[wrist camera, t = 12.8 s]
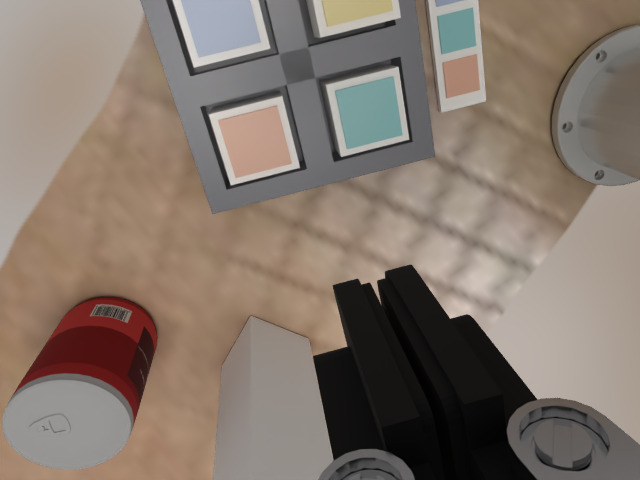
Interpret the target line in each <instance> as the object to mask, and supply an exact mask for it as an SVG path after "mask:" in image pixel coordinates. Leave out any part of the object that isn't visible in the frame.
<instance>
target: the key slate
mask: <svg viewBox="0 0 640 480" xmlns="http://www.w3.org/2000/svg"><path fill="white" fill-rule="evenodd" d="M173 3H174V6H175V9H176V12H177V16H178V19H179V22H180V25H181V28H182V32H183V35H184V38H185V41H186V44H187V47H188V51H189V54H190V57H191V60H192V63H193V67H194V68H195V67H199V66H203V65H207V64H211V63H215V62H219V61H223V60H227V59H231V58H235V57H239V56H243V55H247V54H251V53H255V52H259V51H263V50H267V49H270V45H269V41H268V37H267V33H266V29H265V25H264V21H263V17H262V12H261V8H260V4H259V0H173Z"/></svg>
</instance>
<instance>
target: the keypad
mask: <svg viewBox="0 0 640 480" xmlns="http://www.w3.org/2000/svg"><path fill="white" fill-rule="evenodd" d="M140 1H141V4H142V7H143V10H144V13H145V16H146V19H147V22H148V25H149V28H150V31H151V34H152V37H153V40H154V42H155V45H156V48H157V51H158V54H159V57H160V60H161V63H162V66H163V69H164V72H165V75H166V78H167V81H168V84H169V87H170V90H171V93H172V96H173V99H174V101H175V104H176V107H177V110H178V113H179V116H180V119H181V122H182V125H183V128H184V131H185V134H186V137H187V140H188V143H189V146H190V149H191V152H192V155H193V157H194V160H195V163H196V166H197V169H198V172H199V175H200V178H201V181H202V184H203V187H204V190H205V193H206V196H207V199H208V202H209V205H210V208H211V211H212V214H215V213H219V212H223V211H226V210H230V209H234V208H238V207H242V206H246V205H250V204H253V203H257V202H261V201H265V200H269V199H273V198H277V197H280V196H284V195H288V194H292V193H296V192H300V191H304V190H308V189H311V188H315V187H319V186H323V185H327V184H331V183H335V182H338V181H342V180H346V179H350V178H354V177H358V176H362V175H365V174H369V173H373V172H377V171H381V170H385V169H389V168H392V167H396V166H400V165H404V164H408V163H412V162H416V161H419V160H423V159H427V158H431V157H435V151H434V143H433V136H432V128H431V120H430V112H429V104H428V97H427V89H426V81H425V73H424V65H423V58H422V50H421V42H420V34H419V26H418V19H417V11H416V3H415V0H398V1H399V8H400V15H401V18H398V19H394V20H390V21H386V22H382V23H378V24H374V25H370V26H366V27H362V28H358V29H354V30H350V31H346V32H342V33H338V34H334V35H329V36H325V37H321V38H318V37H314V35H313V30H312V25H311V20H310V16H309V11H308V6H307V2H306V0H259V4H260V8H261V12H262V17H263V21H264V25H265V29H266V33H267V37H268V41H269V45H270V49H267V50H263V51H259V52H255V53H251V54H247V55H243V56H239V57H235V58H231V59H227V60H223V61H219V62H215V63H211V64H207V65H203V66H199V67H195V68H194V67H193V63H192V60H191V57H190V54H189V51H188V47H187V44H186V41H185V38H184V35H183V32H182V28H181V25H180V22H179V19H178V16H177V12H176V9H175V6H174V3H173V0H140ZM384 64H388V65H393V66H397V67H399V74H400V80H401V87H402V94H403V101H404V107H405V114H406V121H407V128H408V134H409V140H405V141H402V142H398V143H394V144H390V145H386V146H382V147H378V148H374V149H370V150H367V151H363V152H359V153H355V154H351V155H347V156H343V157H341V156H340V155H339V153H338V152H337V151H336V149H335V148H334V145H333V141H332V136H331V131H330V127H329V122H328V117H327V113H326V108H325V103H324V99H323V94H322V89H321V85H320V80H324V79H328V78H332V77H336V76H340V75H344V74H348V73H352V72H356V71H360V70H364V69H368V68H372V67H376V66H380V65H384ZM277 91H280V93H281V95H282V97H283V101H284V105H285V109H286V113H287V117H288V121H289V125H290V129H291V133H292V137H293V141H294V145H295V149H296V153H297V157H298V161H299V165H300V168H297V169H293V170H289V171H285V172H281V173H277V174H273V175H270V176H266V177H262V178H258V179H254V180H250V181H246V182H242V183H238V184H235V185H231V184H230V181H229V178H228V175H227V172H226V168H225V165H224V162H223V159H222V156H221V153H220V149H219V146H218V143H217V140H216V137H215V133H214V130H213V127H212V124H211V121H210V117H209V113H210V111H211V109H212V108H213V107H217V106H221V105H225V104H229V103H233V102H237V101H241V100H245V99H249V98H253V97H257V96H261V95H265V94H269V93H273V92H277Z"/></svg>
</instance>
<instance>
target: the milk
mask: <svg viewBox="0 0 640 480" xmlns="http://www.w3.org/2000/svg"><path fill="white" fill-rule="evenodd" d="M332 462H333V458H332V452H331V447H330V442H329V437H328V432H327V427H326V422H325V417H324V412H323V407H322V402H321V397H320V392H319V387H318V382H317V377H316V372H315V367H314V362H313V357H312V352H311V347H310V342H309V339H308V338H306V337H303V336H301V335H298V334H296V333H293V332H291V331H288V330H286V329H283V328H281V327H278V326H276V325H273V324H271V323H268V322H266V321H263V320H261V319H258V318H256V317H253V316H250V317H249V319H248V321H247V323H246V324H245V326H244V328H243V330H242V332H241V333H240V335H239V337H238V339H237V340H236V342H235V344H234V346H233V347H232V349H231V351H230V353H229V354H228V356H227V358H226V360H225V361H224V363H223V365H222V369H221V382H220V395H219V407H218V420H217V433H216V446H215V458H214V471H213V480H318V479H319V477H320V475H321V473H322V472H323V471H324V470H325V469H326V468H327V467H328V466H329V465H330V464H331V463H332Z"/></svg>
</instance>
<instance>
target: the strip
mask: <svg viewBox="0 0 640 480" xmlns="http://www.w3.org/2000/svg"><path fill="white" fill-rule="evenodd" d="M425 2H426V10H427V18H428V27H429V35H430V43H431V52H432V60H433V68H434V76H435V85H436V93H437V101H438V110H439V112H441V113H442V112H446V111H450V110H454V109H458V108H462V107H466V106H469V105H473V104H477V103H481V102H485V101H486V93H485V80H484V68H483V55H482V43H481V30H480V18H479V5H478V0H425Z"/></svg>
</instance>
